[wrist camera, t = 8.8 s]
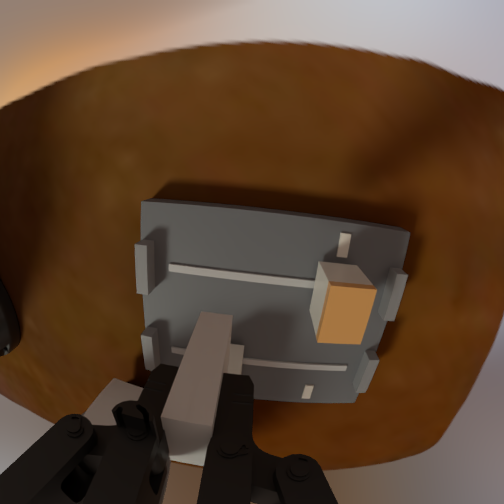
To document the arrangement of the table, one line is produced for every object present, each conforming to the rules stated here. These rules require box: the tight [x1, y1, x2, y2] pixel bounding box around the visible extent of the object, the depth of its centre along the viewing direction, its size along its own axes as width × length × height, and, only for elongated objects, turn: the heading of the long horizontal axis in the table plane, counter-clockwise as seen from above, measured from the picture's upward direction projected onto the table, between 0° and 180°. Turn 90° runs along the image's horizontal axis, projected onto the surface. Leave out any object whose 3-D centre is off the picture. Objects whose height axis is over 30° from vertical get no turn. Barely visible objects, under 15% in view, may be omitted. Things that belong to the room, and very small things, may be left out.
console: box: [135, 198, 410, 403], centre depth 23 cm, size 21×18×4 cm
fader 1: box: [227, 344, 244, 375], centre depth 21 cm, size 3×4×4 cm
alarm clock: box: [82, 378, 171, 504], centre depth 20 cm, size 18×8×20 cm, turn 170°
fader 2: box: [309, 261, 377, 344], centre depth 18 cm, size 3×4×4 cm
